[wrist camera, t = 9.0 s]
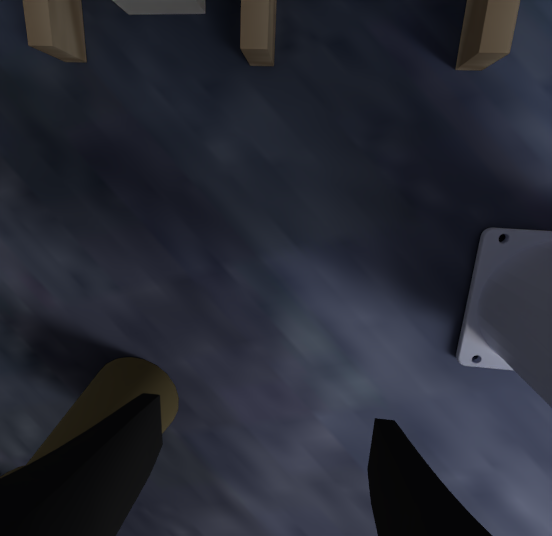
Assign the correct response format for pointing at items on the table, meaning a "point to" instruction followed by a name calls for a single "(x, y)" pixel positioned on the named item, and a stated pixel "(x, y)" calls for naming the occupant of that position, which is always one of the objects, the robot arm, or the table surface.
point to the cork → (112, 400)
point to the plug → (162, 6)
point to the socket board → (272, 31)
